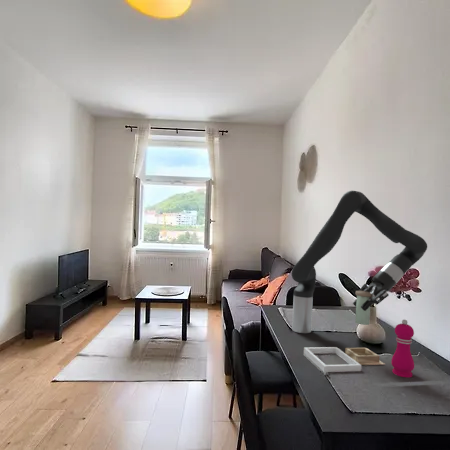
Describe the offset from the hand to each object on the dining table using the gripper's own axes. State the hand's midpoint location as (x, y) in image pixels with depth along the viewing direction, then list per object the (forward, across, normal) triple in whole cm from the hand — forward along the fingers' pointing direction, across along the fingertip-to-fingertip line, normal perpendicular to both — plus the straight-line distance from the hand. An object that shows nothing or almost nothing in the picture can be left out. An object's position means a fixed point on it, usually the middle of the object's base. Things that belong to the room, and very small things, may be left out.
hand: (358, 307), depth 134 cm
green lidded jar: (+3, 0, +6) cm, 6 cm away
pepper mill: (+8, +14, +21) cm, 27 cm away
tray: (+23, +2, +6) cm, 24 cm away
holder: (+13, 0, +16) cm, 21 cm away
